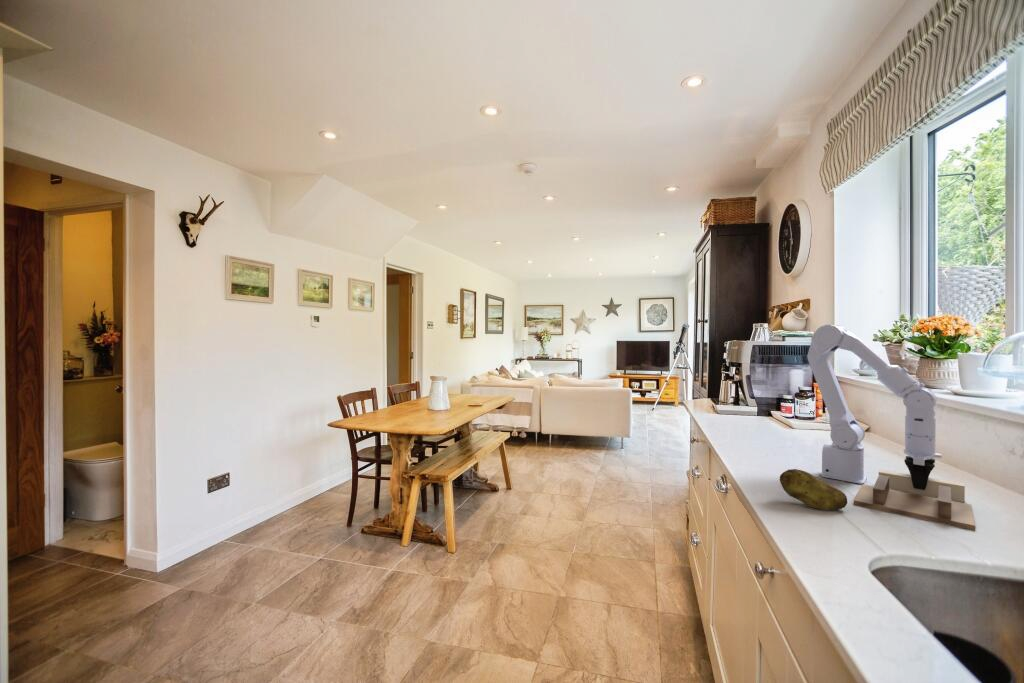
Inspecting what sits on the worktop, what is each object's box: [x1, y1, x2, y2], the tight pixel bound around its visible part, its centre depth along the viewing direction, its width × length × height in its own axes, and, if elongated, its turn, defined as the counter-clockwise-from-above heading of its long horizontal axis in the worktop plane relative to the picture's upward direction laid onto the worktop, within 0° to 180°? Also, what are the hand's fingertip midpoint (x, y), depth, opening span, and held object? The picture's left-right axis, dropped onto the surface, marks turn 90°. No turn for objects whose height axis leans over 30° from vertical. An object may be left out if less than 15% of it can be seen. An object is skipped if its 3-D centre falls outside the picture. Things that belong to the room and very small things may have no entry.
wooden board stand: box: [853, 474, 976, 531], centre depth 102 cm, size 20×16×4 cm
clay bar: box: [878, 469, 966, 503], centre depth 112 cm, size 16×3×4 cm, turn 45°
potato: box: [779, 468, 848, 511], centre depth 103 cm, size 8×13×8 cm, turn 40°
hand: (919, 487), depth 112 cm, fingers closed on clay bar, 3 cm apart
